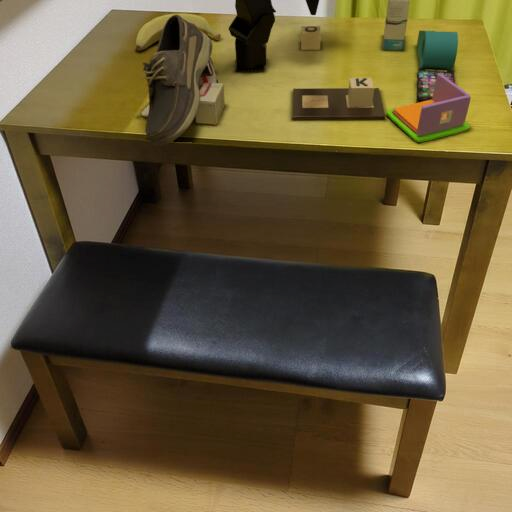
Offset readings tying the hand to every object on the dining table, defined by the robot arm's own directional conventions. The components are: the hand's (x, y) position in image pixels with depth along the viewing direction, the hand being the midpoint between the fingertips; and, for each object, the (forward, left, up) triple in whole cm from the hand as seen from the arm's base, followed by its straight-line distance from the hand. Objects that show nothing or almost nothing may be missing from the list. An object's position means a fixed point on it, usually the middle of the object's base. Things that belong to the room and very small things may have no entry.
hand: (313, 7), depth 134 cm
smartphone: (+26, -22, -10) cm, 35 cm away
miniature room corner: (+22, -36, -10) cm, 43 cm away
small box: (-20, -29, -7) cm, 36 cm away
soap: (-32, -29, -10) cm, 45 cm away
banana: (-33, +4, -10) cm, 35 cm away
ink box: (+20, +2, -10) cm, 22 cm away
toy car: (-25, -18, -10) cm, 33 cm away
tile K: (+9, -29, -9) cm, 32 cm away
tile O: (0, +1, -10) cm, 10 cm away
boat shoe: (-25, -33, -5) cm, 42 cm away
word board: (+5, -29, -10) cm, 31 cm away
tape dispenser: (+28, -8, -10) cm, 30 cm away
